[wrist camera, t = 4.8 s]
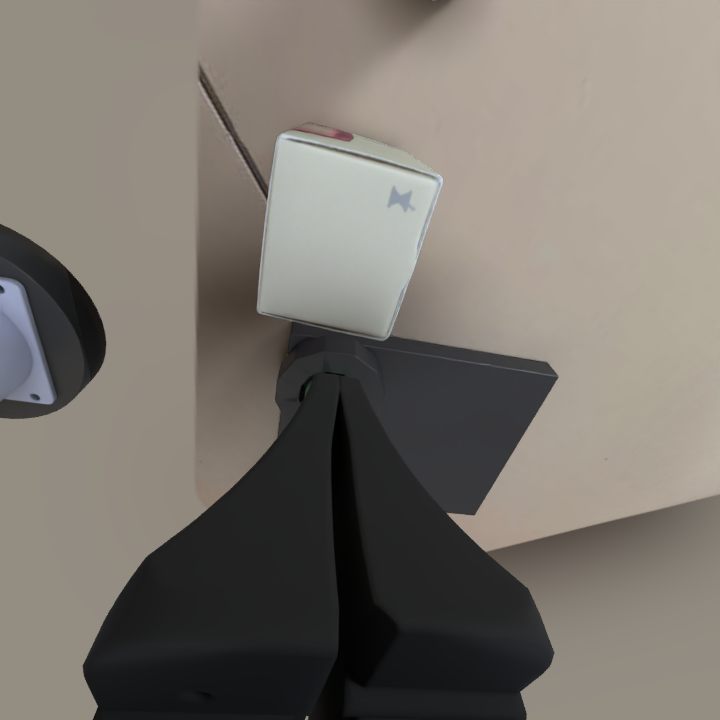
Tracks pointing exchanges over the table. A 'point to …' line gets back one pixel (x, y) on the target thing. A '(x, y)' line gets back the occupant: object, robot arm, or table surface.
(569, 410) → the table surface
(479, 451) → the scale
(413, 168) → the small box
